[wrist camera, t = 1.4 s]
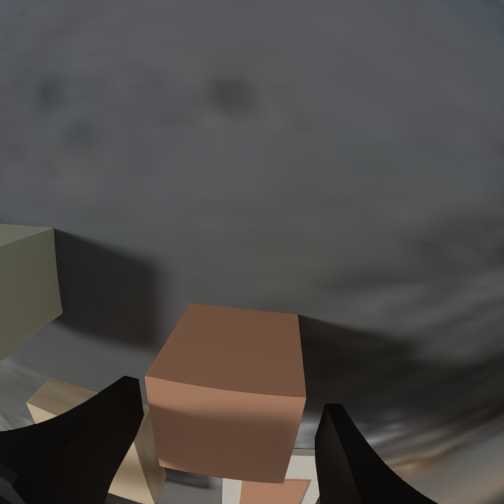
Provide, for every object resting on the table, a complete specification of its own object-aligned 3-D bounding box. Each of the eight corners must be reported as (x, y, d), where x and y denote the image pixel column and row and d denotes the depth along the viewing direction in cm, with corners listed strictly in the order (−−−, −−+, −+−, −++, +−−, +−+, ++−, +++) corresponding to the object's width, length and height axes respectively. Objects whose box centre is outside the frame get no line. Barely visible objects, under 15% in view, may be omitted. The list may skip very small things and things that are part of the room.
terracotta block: (283, 395, 16) (283, 483, 10) (192, 384, 16) (159, 465, 10) (297, 313, 14) (306, 397, 9) (191, 302, 15) (144, 375, 9)
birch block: (167, 473, 19) (155, 506, 16) (80, 446, 20) (62, 473, 16) (153, 403, 17) (133, 441, 14) (52, 374, 18) (26, 401, 14)
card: (306, 515, 19) (306, 522, 18) (223, 509, 19) (221, 516, 19) (336, 449, 16) (337, 458, 16) (225, 442, 17) (223, 451, 16)
